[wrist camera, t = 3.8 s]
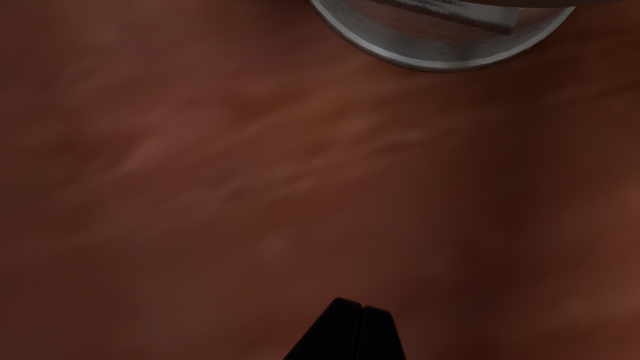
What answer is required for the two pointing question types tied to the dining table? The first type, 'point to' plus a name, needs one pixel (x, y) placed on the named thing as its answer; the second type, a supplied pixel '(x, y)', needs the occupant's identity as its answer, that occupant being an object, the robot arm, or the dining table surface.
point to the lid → (482, 10)
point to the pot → (433, 35)
